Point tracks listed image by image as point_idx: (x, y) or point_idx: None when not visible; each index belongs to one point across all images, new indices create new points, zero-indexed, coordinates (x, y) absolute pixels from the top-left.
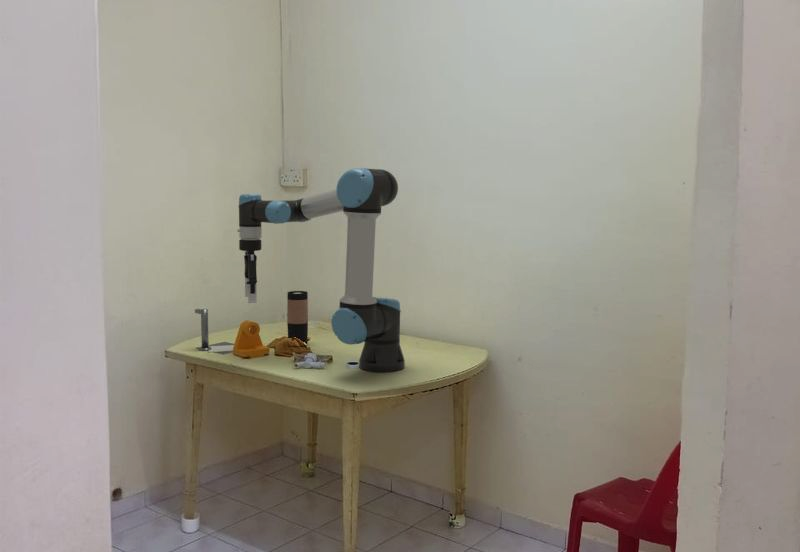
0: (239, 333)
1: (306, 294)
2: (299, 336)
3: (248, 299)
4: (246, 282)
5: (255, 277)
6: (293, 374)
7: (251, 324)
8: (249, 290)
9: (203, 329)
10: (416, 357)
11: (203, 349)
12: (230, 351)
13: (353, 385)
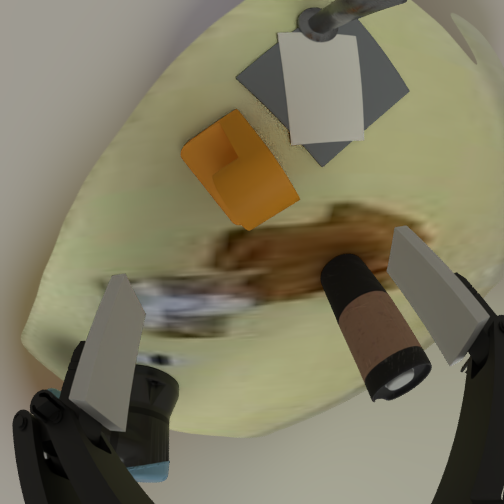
0: (244, 140)
1: (377, 398)
2: (328, 296)
3: (105, 293)
4: (454, 307)
5: (50, 468)
6: (59, 279)
7: (228, 206)
8: (89, 354)
9: (334, 2)
10: (206, 408)
11: (299, 18)
12: (278, 97)
13: (43, 345)
